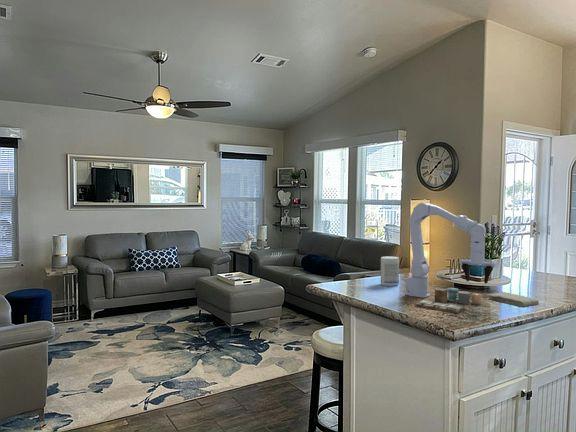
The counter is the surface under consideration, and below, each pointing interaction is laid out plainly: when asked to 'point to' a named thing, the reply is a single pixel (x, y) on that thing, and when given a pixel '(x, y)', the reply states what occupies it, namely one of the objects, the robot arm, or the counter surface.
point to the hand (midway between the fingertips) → (476, 282)
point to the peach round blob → (476, 298)
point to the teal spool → (452, 294)
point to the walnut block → (441, 295)
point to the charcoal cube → (463, 297)
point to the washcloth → (513, 299)
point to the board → (440, 306)
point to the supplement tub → (390, 271)
